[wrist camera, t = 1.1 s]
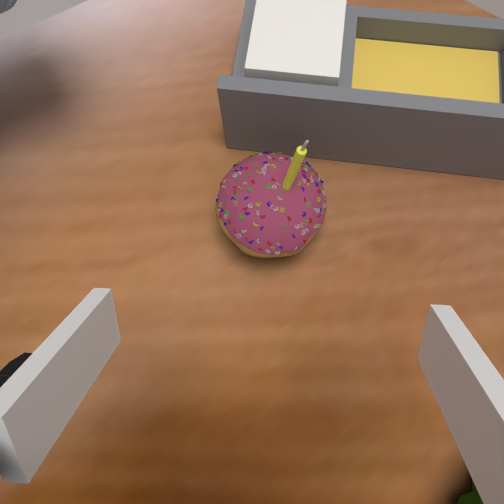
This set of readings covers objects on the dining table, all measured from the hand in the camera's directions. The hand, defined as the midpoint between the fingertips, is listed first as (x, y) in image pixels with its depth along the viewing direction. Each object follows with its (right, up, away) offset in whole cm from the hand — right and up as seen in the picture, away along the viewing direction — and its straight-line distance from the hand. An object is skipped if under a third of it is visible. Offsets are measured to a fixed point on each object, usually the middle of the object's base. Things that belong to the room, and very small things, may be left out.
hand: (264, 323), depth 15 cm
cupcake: (+1, +5, +18) cm, 18 cm away
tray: (+11, +18, +20) cm, 29 cm away
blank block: (+3, +19, +20) cm, 28 cm away
